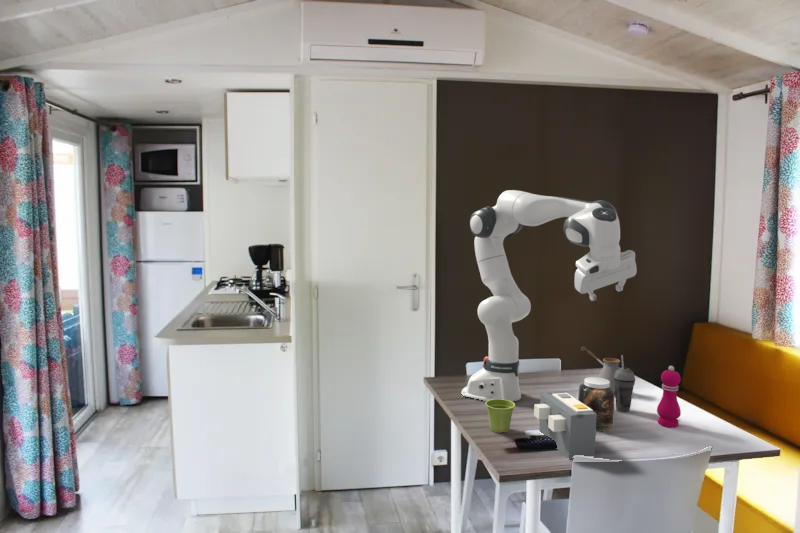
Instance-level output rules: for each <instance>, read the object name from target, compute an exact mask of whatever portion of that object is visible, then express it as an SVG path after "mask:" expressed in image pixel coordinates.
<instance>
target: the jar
mask: <svg viewBox="0 0 800 533" xmlns="http://www.w3.org/2000/svg"><path fill="white" fill-rule="evenodd" d="M583 381H584V382H583V383H580V385H579V387H578V395H577V396H578V397H577V400H578V401H580V402H581V403H583V404H585V405H586V406H588V407H589V408H591V409H592V410H593V412H595V413H596V414H597V416H596V432H605V431H610V430H612V429H613V428H614V420H615V419H614V416H615V415H614V414H615V399H616V398H615V392H614V388H613V387H612V386H610V381H609V380H607V379H604V378H599V377H597V376H589V377H585V378H584V380H583Z"/></svg>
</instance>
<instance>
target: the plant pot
mask: <svg viewBox="0 0 800 533" xmlns="http://www.w3.org/2000/svg"><path fill="white" fill-rule="evenodd" d="M485 406H486V410H487V414H488V421H489V430H490V431H492V432H493V433H494V432H495V433H497V434H501V433H507V432H509V431H510V428H511V422H512V421H511V420H512V416H513V412H514V408H515V407H516V403H515V402H514V401H513V402H512V401H509V400H504V399H492V400H488V401H485Z"/></svg>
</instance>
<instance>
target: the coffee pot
mask: <svg viewBox="0 0 800 533" xmlns="http://www.w3.org/2000/svg"><path fill="white" fill-rule="evenodd" d="M580 351H581V352H582V351H585V352H587V353H588V354H589V356H591V357H592V358H593V359H595V360H596V361H598V362H599V364H601V365H602V366H603V367H602V369H601V371H600V372H599V374H598V377H599V378H604V379H607V380H609V381H610V386H612V387H613V388H614V392H615V383H614V375H615V372H616V371H617V370H618V369H619V368H620V367H619V366H620V363H621V360H620V359H618V358H615V357H605V358H603V359H602V360H601V359H600V358H599V357H597V356H596V355H595V353H593V352H592V351H591V350H589V349H588V348H586V346H582V347H581V348H580Z"/></svg>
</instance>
